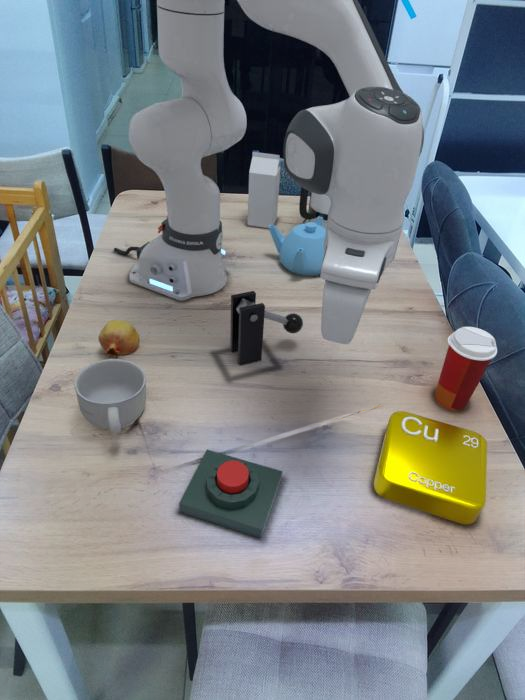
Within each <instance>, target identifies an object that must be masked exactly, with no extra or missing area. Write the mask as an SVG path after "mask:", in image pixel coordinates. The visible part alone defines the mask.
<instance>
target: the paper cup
mask: <svg viewBox="0 0 525 700" xmlns="http://www.w3.org/2000/svg"><path fill="white" fill-rule="evenodd" d="M447 343H448V347H447V351H446V354H445V358H444V361H443V364H442V367H441V371H440V375H439V378H438V381H437V385H436V388H435V393H434V399H435V401H436V403H437V404H438V405H439V406H441V407H442V408H444V409H446V410H449V411H453V412H458V411H462V410H464V409H465V407H467V405H468V403H469V401H470V400H471V398H472V396H473V395H474V393H475V391H476V389H477V387H478V386H479V384H480V382H481V380H482V378H483V376H484V374H485V372H486V370H487V369H488V367H489V364H490V363H491V361H492V360H493V359H494V358H495V357H496V356H497V354H498V347H497V342H496V339H495V337H494V336H493V335H492V334H491V333H489V332H488V331H486V330H484V329H481V328H478V327H474V326H461V327H460V328H458V329H456V330H455V331H453V332H452V333H451V334H450V335H448V337H447Z"/></svg>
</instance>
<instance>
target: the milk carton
mask: <svg viewBox="0 0 525 700" xmlns="http://www.w3.org/2000/svg"><path fill="white" fill-rule="evenodd" d="M281 166H282V165H281V161H280V154H273V153H266V152H265V153H264V152H257V151H252V158H251V161H250V167H249V171H248V173H249V174H248V193H247V195H248V196H247V197H248V198H247V226H251V227H259V228H264V229H269V226H270V225H274V226H275V224H276V221H277V218H278V209H279V208H278V207H279V194H280V193H279V192H280V182H281V181H280V180H281V169H282V168H281Z"/></svg>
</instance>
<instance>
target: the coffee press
mask: <svg viewBox="0 0 525 700" xmlns="http://www.w3.org/2000/svg"><path fill="white" fill-rule="evenodd" d="M308 197H309V202H308ZM298 206H299V207H298V210H299V215H300V217H301V218H302V219H303V221H302V224H305V223H306V221H307V220H308V221H309V222H313V223H315V222H316V219H317V217H318V216H320V217H323V224H322V227H324V228H325V229H326V227H327V220H328V213H329V209H330V206H331V200H330V198H329V197H328V196H327V195H324V194H323V195H320V194H316V193H313V192H310V193H309V191H308V190H306V189H304V188H302V187H301V186H300V196H299V205H298ZM307 206H308V208H307ZM307 209H308V210H307Z"/></svg>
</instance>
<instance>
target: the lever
mask: <svg viewBox="0 0 525 700" xmlns="http://www.w3.org/2000/svg"><path fill="white" fill-rule="evenodd" d="M255 304H256V303H255V302H252V301H249V300H246V299H243V298H242V300H241V301H240V303H239V305H238V306H237V308H236V310H237V312H238V313H239V308H240V307H245V306H250V305H255ZM264 319H266V320H269V321H273V322H275V323H279V324H282V327H283V330H284V331H285V332H287V333H288V334H297V333H299V332H300V331H301V330H303V329H302V328H303V326H304V320H303V317H301V316H300V315H299V314H298V313H293V312H292V313H291V312H290V313H289V314H287V315H285V316H282V315H280V314H276V313H274V312H271V311H267V310H265V314H264Z"/></svg>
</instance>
